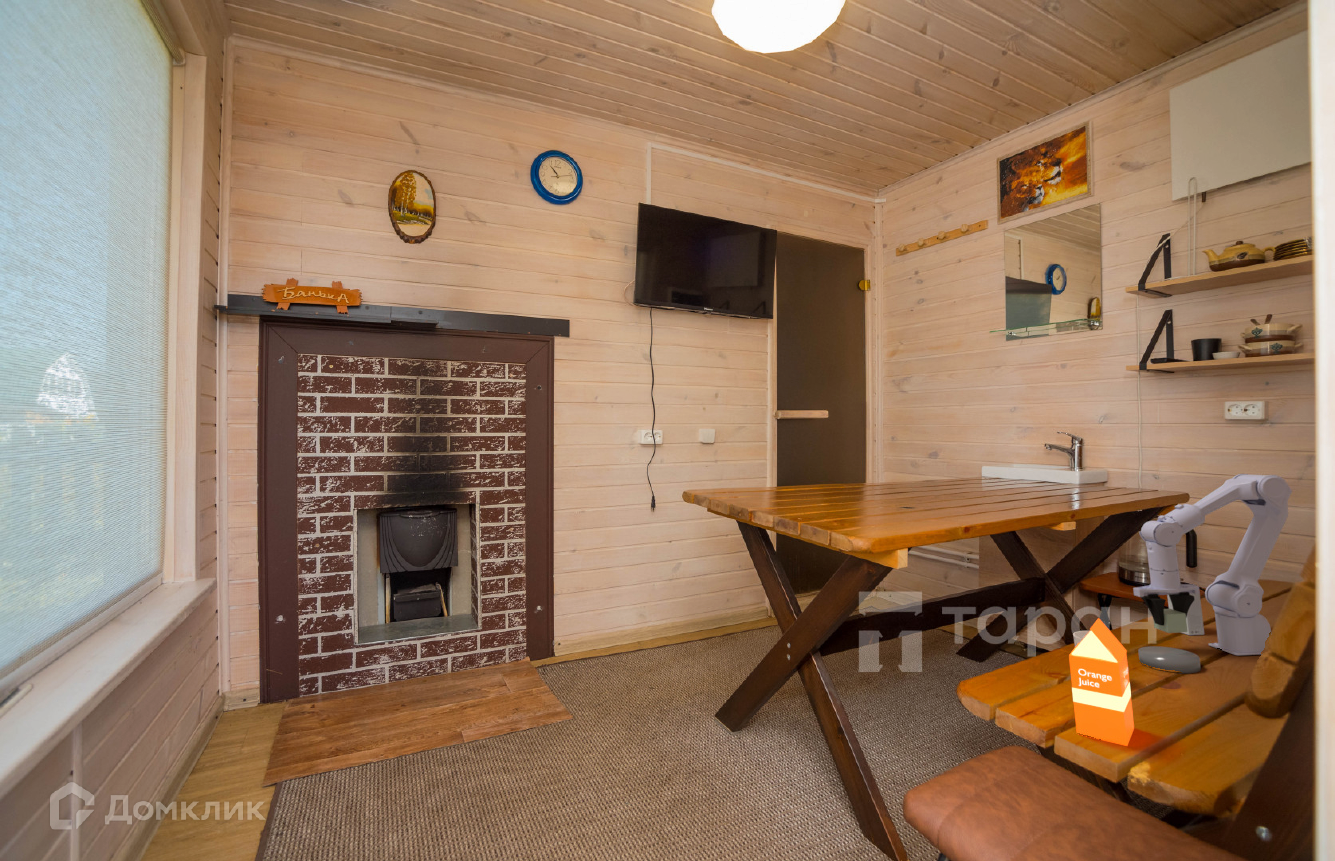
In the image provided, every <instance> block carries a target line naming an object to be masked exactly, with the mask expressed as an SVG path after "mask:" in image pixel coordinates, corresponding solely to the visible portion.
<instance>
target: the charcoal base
mask: <svg viewBox="0 0 1335 861" xmlns="http://www.w3.org/2000/svg"><path fill="white" fill-rule="evenodd" d="M1138 659H1139V660H1140V661H1139V663H1140V662H1141V663H1143V664H1146V665H1148V666H1151V667H1155V668H1160V669H1165V670H1175V671H1180V672H1182V673H1181V674H1195V673H1198V672H1200V671H1201V670H1202V668H1201V658H1200V656H1199V655H1198V654H1196V653H1193V652H1191V651H1189V650H1185V649H1181V648H1175V647H1169V646H1157V645H1156V646H1143V647H1140V648H1138ZM1141 663H1140V664H1141ZM1143 664H1142V665H1143Z"/></svg>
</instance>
